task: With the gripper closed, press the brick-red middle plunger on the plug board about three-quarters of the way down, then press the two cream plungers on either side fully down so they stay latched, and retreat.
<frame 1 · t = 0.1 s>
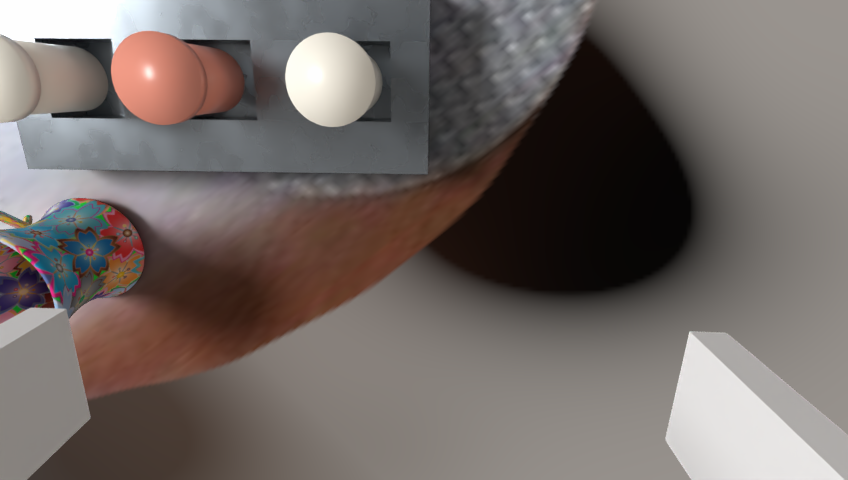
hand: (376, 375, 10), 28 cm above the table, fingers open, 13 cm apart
plug red: (188, 80, 28), point 8 cm above the table, slide at 0.0 cm
plug cream b: (342, 81, 28), point 8 cm above the table, slide at 0.0 cm
plug board: (239, 81, 35), on the table
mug: (87, 232, 39), on the table
plug cream a: (36, 78, 28), point 8 cm above the table, slide at 0.0 cm
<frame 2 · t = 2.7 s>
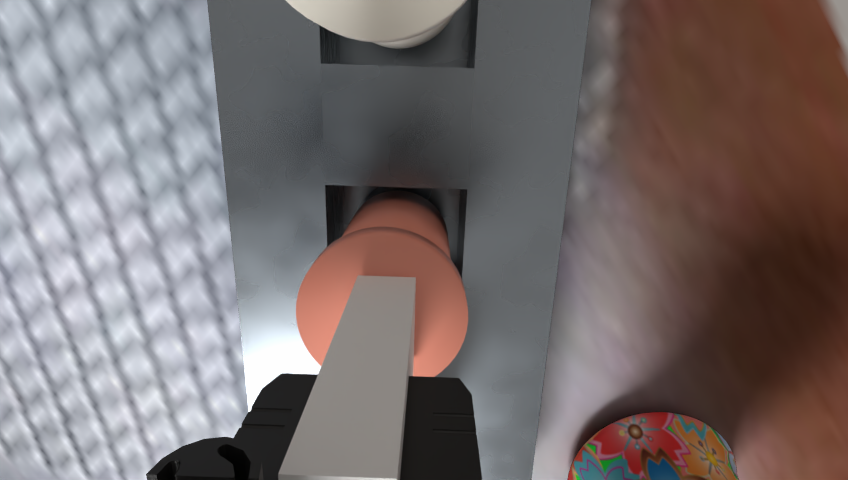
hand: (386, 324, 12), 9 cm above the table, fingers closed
plug red: (391, 270, 16), point 6 cm above the table, slide at 2.1 cm, touching gripper
plug board: (401, 224, 21), on the table
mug: (619, 478, 26), on the table
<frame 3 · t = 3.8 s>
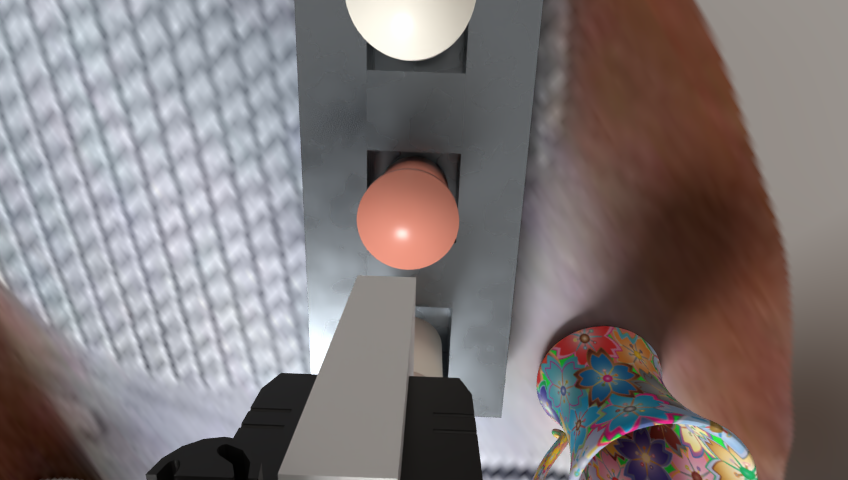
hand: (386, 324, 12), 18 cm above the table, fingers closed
plug red: (411, 204, 25), point 5 cm above the table, slide at 2.3 cm
plug cream b: (414, 4, 20), point 8 cm above the table, slide at 0.0 cm
plug board: (415, 183, 30), on the table
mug: (577, 382, 34), on the table
plug cream a: (404, 379, 25), point 8 cm above the table, slide at 0.0 cm
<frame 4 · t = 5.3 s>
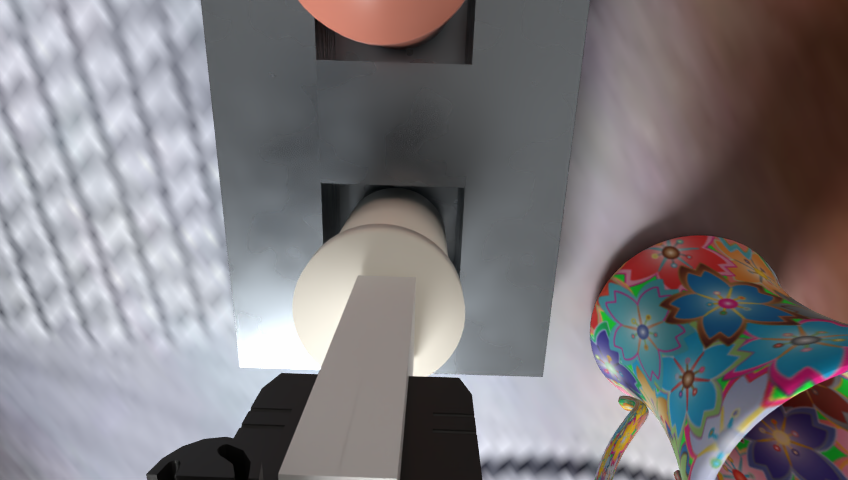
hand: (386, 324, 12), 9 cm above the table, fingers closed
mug: (647, 329, 23), on the table
plug cream a: (389, 267, 16), point 5 cm above the table, slide at 2.3 cm, touching gripper
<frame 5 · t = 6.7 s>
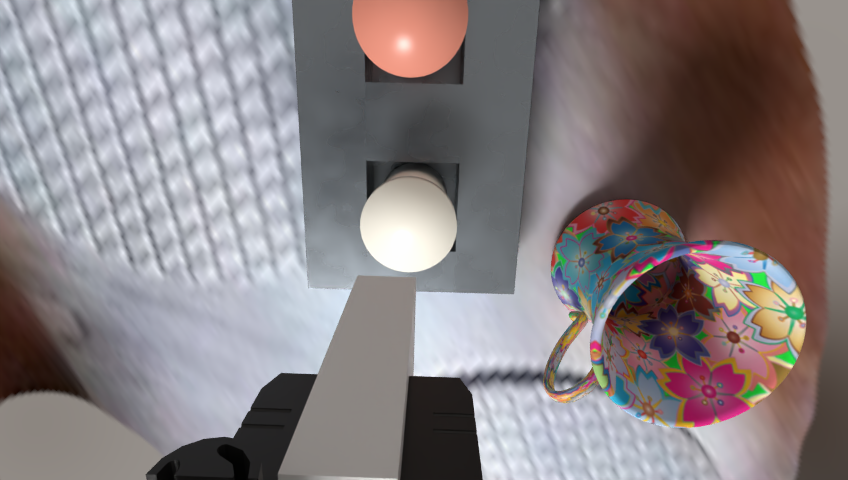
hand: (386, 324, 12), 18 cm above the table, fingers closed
plug red: (413, 26, 22), point 5 cm above the table, slide at 2.3 cm
plug board: (417, 37, 27), on the table
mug: (594, 270, 32), on the table
plug cream a: (411, 209, 26), point 4 cm above the table, slide at 3.3 cm
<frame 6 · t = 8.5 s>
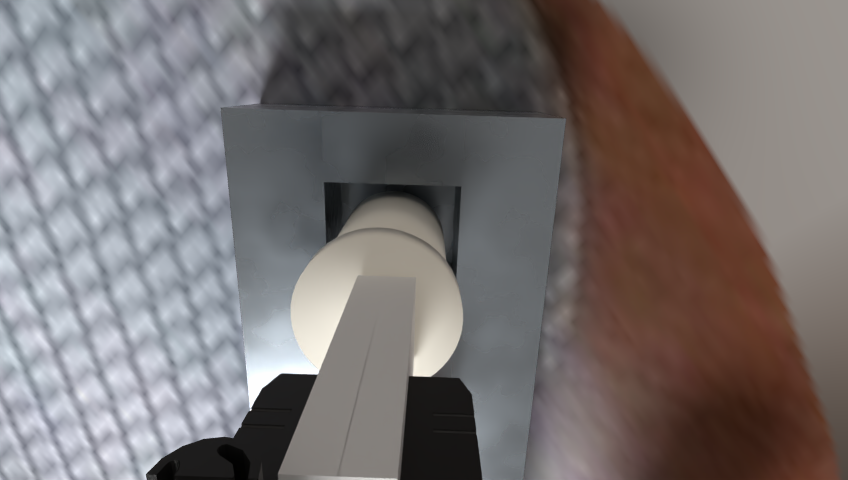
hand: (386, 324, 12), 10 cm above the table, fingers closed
plug cream b: (387, 271, 16), point 6 cm above the table, slide at 1.5 cm, touching gripper
plug board: (396, 388, 25), on the table
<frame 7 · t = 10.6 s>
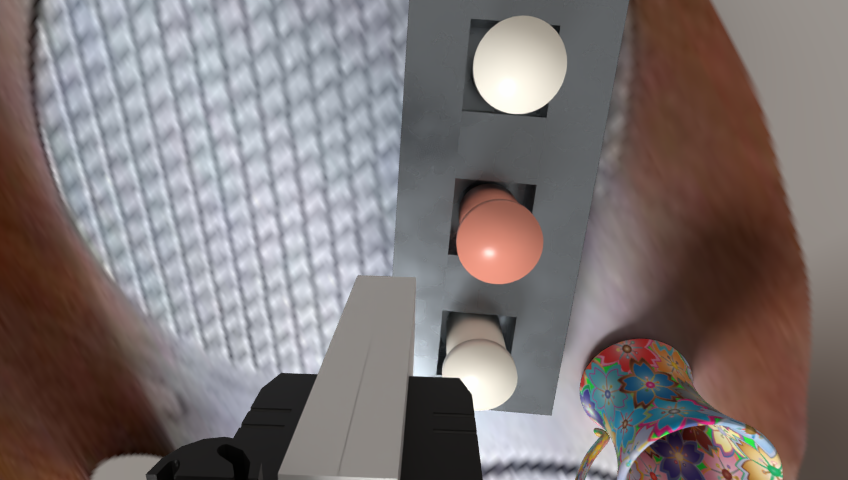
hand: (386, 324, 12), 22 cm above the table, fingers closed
plug red: (493, 226, 29), point 5 cm above the table, slide at 2.3 cm
plug cream b: (510, 69, 27), point 4 cm above the table, slide at 3.3 cm
plug board: (485, 205, 34), on the table
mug: (614, 387, 38), on the table
plug cream a: (475, 349, 32), point 4 cm above the table, slide at 3.3 cm
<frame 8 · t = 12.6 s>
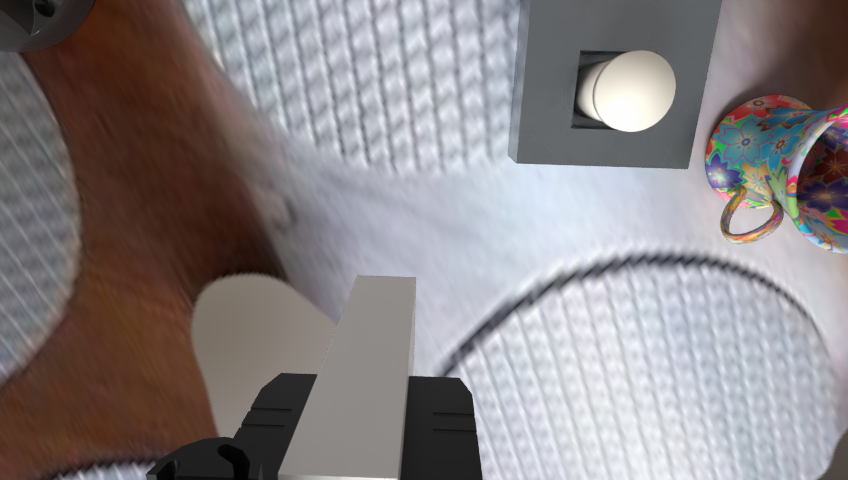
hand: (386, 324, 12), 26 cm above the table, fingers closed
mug: (737, 162, 37), on the table
plug cream a: (615, 91, 31), point 4 cm above the table, slide at 3.3 cm
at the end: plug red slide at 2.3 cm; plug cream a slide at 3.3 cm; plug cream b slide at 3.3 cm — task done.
